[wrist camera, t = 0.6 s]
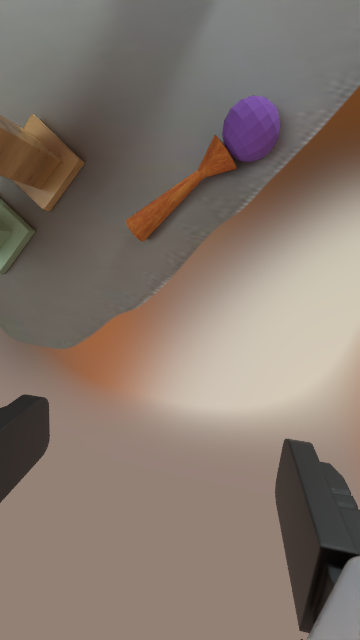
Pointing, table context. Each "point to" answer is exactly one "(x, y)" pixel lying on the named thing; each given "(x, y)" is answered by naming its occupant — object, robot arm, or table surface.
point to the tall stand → (37, 160)
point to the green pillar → (11, 236)
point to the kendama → (218, 158)
